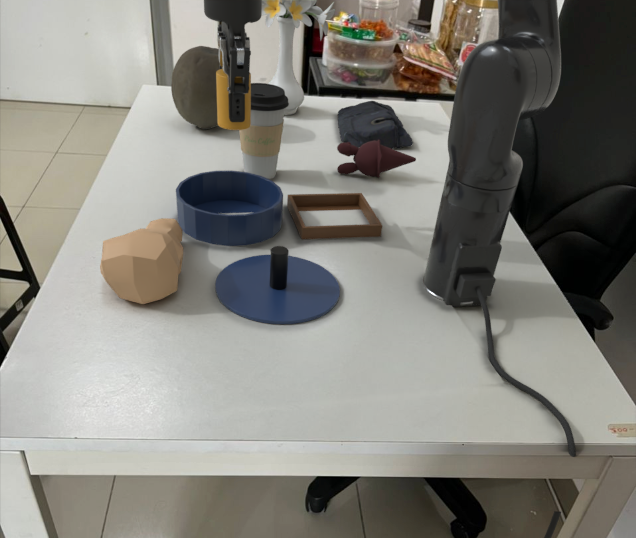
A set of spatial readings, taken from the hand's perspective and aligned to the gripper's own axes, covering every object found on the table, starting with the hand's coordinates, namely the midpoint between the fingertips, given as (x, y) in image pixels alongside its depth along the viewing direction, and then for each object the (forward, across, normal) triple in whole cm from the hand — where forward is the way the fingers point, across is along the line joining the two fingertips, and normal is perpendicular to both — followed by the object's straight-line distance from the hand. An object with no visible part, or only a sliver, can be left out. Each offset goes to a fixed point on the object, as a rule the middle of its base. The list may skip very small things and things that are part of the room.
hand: (234, 114), depth 93 cm
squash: (+18, +14, -14) cm, 27 cm away
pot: (+17, -1, -1) cm, 17 cm away
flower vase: (+17, -55, +20) cm, 61 cm away
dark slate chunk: (+17, -42, +37) cm, 58 cm away
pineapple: (+1, 0, 0) cm, 1 cm away
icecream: (+17, -18, +29) cm, 39 cm away
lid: (+17, +20, +3) cm, 27 cm away
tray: (+17, +1, +16) cm, 24 cm away
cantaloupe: (+17, -46, +1) cm, 49 cm away
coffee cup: (+17, -20, +7) cm, 27 cm away
